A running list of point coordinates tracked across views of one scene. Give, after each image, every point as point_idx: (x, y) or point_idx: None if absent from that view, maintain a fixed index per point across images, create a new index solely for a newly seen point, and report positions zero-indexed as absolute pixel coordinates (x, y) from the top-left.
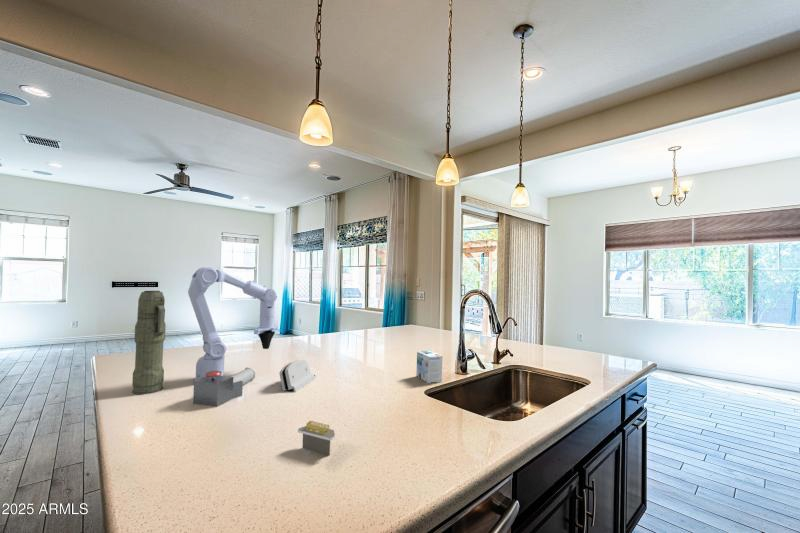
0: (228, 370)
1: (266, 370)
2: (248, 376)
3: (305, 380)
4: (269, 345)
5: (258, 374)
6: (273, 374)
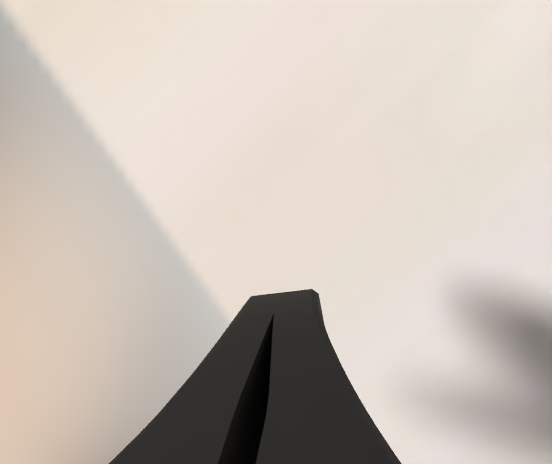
0: (400, 438)
1: (254, 196)
2: None
3: None
4: (239, 324)
5: (406, 164)
6: (339, 12)
